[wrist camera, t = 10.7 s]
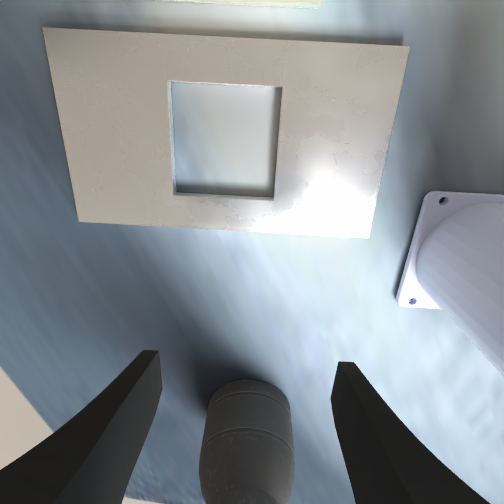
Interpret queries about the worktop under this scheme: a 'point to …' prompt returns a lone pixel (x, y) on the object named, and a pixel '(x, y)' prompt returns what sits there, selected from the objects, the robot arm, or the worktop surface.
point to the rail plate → (225, 73)
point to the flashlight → (247, 446)
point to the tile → (263, 2)
